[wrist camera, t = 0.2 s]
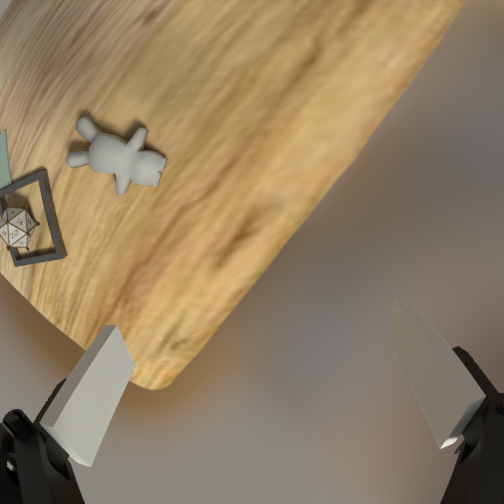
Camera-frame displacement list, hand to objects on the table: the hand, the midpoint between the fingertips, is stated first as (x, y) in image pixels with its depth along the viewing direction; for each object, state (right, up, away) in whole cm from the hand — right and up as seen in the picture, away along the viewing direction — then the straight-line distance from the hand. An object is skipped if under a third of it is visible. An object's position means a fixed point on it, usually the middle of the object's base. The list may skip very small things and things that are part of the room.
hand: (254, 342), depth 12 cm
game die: (-41, +10, +27) cm, 50 cm away
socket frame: (-41, +10, +27) cm, 50 cm away
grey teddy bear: (-19, +18, +24) cm, 35 cm away
